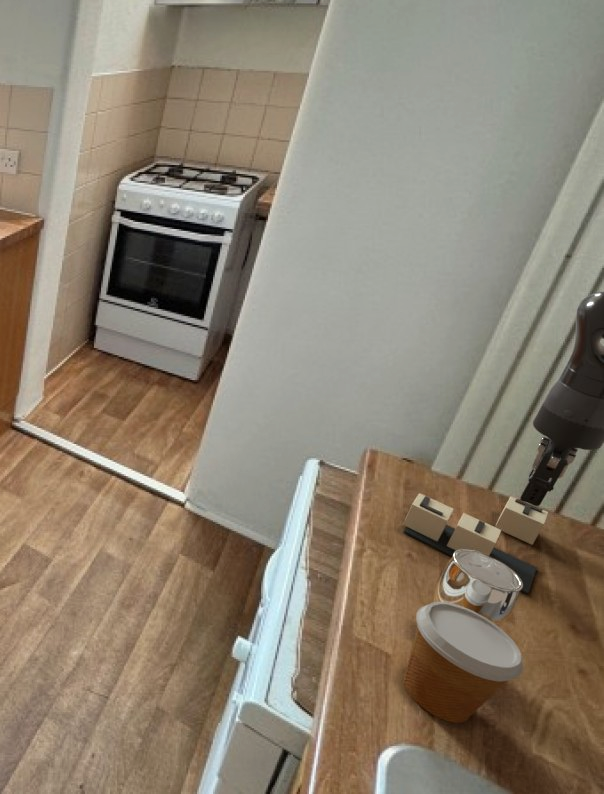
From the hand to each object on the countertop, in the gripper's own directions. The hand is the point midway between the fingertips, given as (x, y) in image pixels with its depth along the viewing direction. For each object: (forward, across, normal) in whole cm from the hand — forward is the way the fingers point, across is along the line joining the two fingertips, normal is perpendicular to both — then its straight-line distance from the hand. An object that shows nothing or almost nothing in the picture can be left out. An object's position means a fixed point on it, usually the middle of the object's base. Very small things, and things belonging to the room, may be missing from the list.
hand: (533, 491), depth 101 cm
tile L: (+8, -13, +9) cm, 18 cm away
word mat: (+8, -13, +4) cm, 16 cm away
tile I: (+8, -13, +4) cm, 16 cm away
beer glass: (+8, -39, +2) cm, 40 cm away
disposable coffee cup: (+8, -49, +1) cm, 50 cm away
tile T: (+8, 0, 0) cm, 8 cm away
